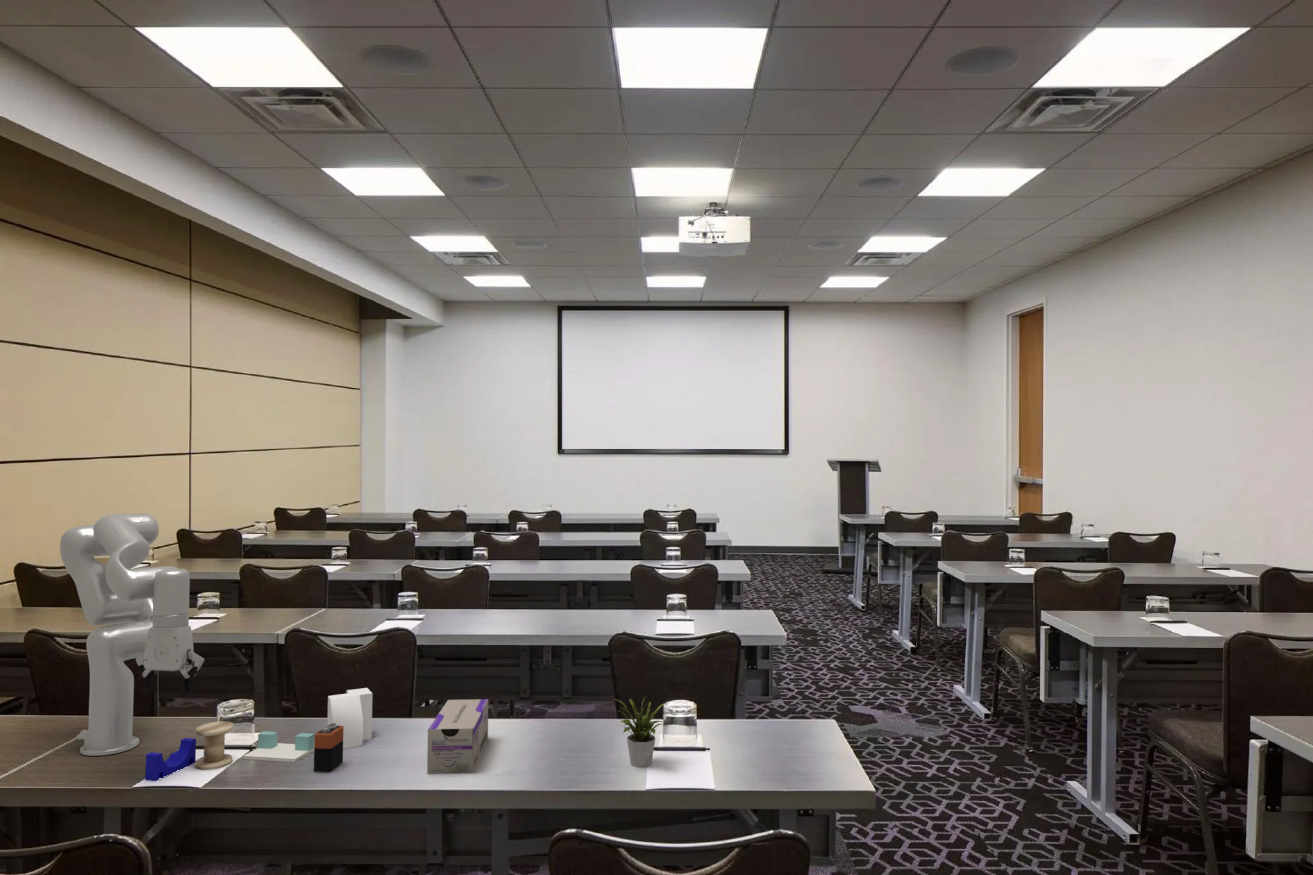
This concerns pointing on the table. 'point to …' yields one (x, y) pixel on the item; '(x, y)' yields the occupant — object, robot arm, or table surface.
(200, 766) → the bobbin
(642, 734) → the house plant
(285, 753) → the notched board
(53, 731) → the table surface
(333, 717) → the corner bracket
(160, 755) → the blue cradle bracket
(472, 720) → the surgical sutures box
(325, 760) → the battery
